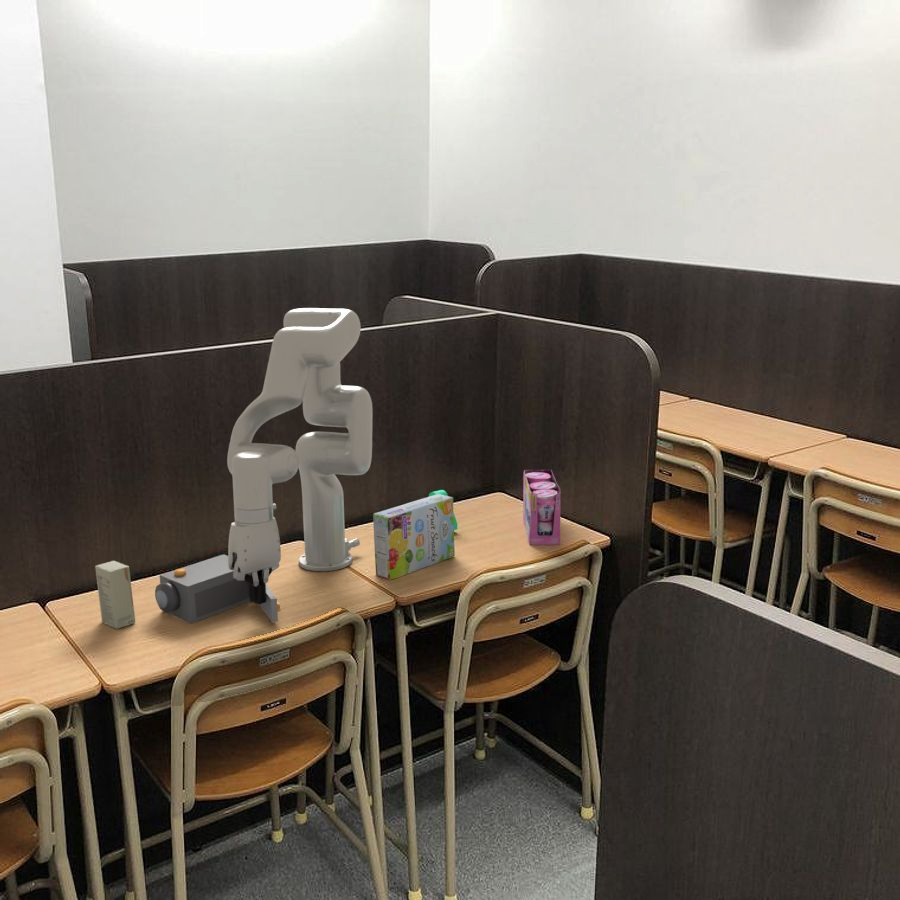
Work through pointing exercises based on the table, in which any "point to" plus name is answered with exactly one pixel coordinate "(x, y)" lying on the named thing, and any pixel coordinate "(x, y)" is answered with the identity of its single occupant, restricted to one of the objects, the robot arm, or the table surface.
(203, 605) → the camera body
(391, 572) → the snack box
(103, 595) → the skincare box
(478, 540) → the table surface
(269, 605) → the side door
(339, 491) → the robot arm
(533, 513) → the gum box
